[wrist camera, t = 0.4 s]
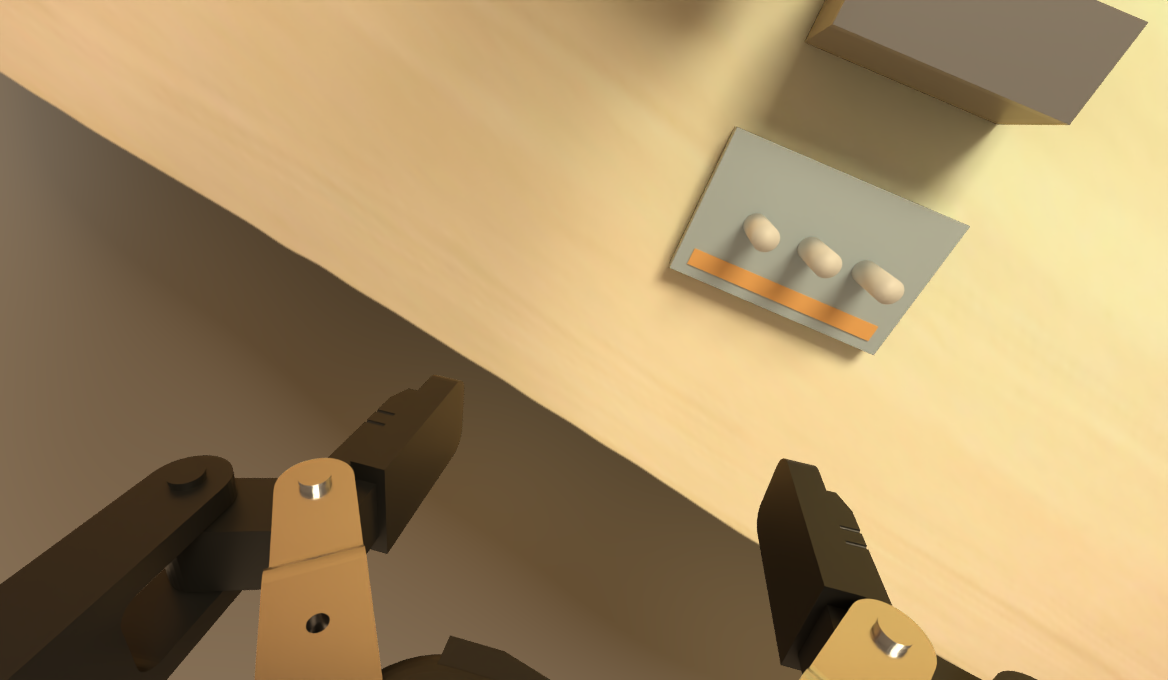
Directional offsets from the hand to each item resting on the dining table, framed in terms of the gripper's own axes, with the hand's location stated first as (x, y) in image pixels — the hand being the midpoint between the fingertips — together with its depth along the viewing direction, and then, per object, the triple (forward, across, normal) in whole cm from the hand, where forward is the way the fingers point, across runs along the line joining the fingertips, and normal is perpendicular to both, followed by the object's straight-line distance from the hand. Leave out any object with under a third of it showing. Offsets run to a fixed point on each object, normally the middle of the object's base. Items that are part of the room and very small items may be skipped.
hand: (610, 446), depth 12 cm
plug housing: (+27, -13, -14) cm, 33 cm away
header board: (+26, -10, -1) cm, 28 cm away
